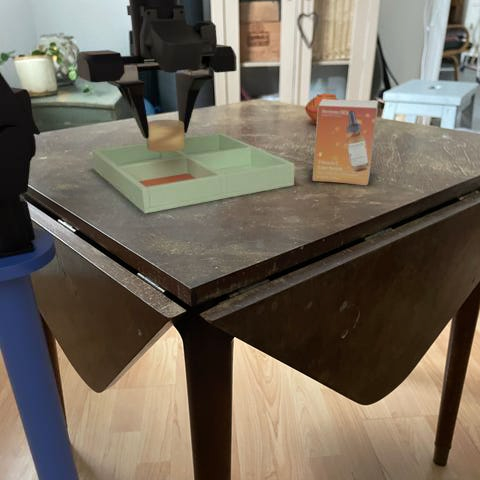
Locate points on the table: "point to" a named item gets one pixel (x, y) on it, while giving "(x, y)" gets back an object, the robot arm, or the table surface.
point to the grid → (191, 171)
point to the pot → (313, 105)
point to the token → (166, 135)
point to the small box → (344, 141)
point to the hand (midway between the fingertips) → (165, 135)
